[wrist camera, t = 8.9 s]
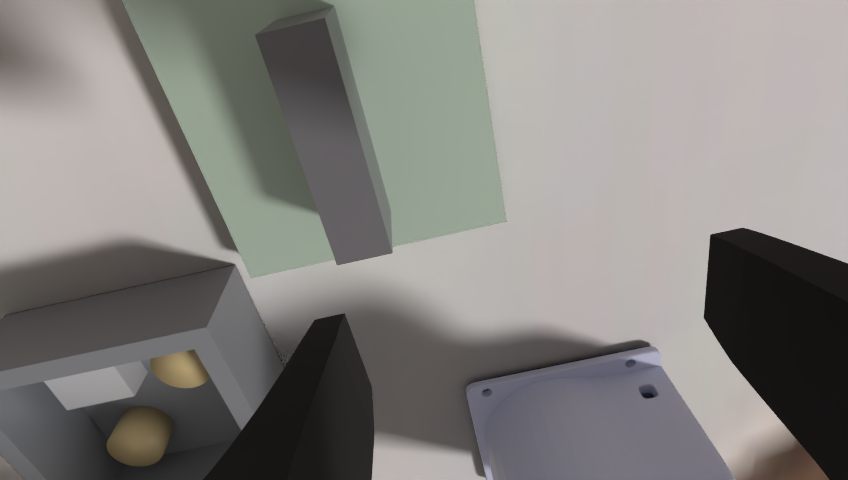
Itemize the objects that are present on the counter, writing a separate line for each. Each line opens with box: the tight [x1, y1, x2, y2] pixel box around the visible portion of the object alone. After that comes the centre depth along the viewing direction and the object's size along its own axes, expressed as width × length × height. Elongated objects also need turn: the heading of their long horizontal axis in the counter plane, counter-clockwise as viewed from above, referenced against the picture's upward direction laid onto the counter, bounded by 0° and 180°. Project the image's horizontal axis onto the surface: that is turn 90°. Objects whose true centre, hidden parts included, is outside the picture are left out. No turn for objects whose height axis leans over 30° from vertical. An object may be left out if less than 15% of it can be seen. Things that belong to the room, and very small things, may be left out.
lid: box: [122, 0, 507, 278], centre depth 17 cm, size 10×10×5 cm
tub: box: [0, 265, 284, 480], centre depth 22 cm, size 10×10×4 cm
